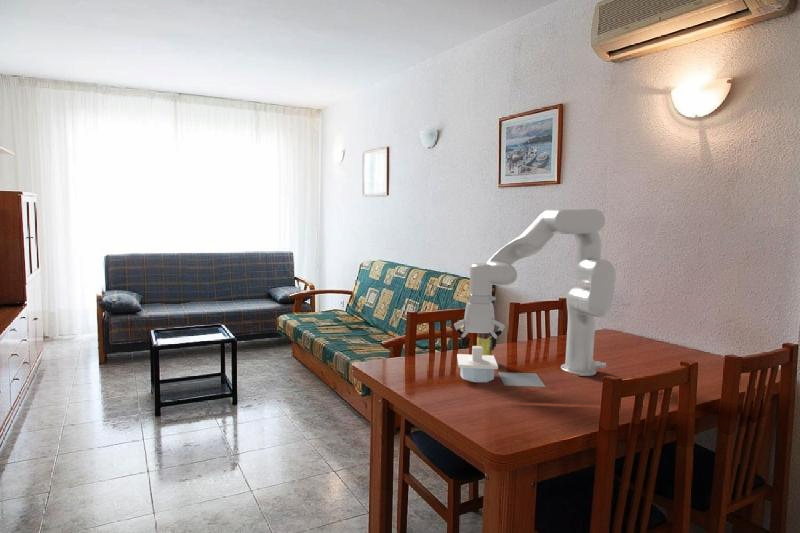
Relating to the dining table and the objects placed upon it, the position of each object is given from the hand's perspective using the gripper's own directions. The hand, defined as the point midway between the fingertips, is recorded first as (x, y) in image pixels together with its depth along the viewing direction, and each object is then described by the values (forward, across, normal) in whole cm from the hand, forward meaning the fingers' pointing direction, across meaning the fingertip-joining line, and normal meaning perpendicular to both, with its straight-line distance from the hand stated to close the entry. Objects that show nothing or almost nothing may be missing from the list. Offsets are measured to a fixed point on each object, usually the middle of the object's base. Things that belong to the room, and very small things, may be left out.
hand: (478, 348), depth 182 cm
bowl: (+11, 0, 0) cm, 11 cm away
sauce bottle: (+11, -5, -18) cm, 22 cm away
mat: (+11, -15, +1) cm, 18 cm away
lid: (+5, 0, 0) cm, 5 cm away
